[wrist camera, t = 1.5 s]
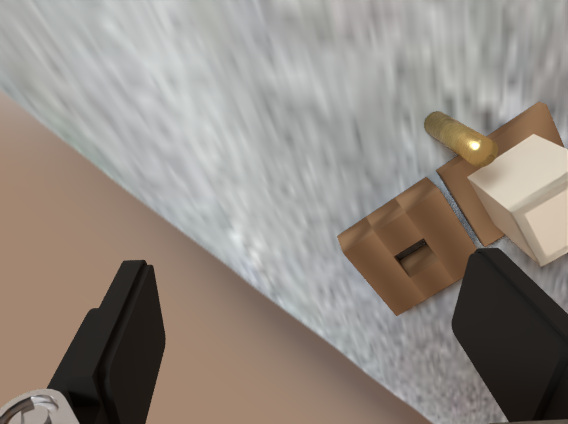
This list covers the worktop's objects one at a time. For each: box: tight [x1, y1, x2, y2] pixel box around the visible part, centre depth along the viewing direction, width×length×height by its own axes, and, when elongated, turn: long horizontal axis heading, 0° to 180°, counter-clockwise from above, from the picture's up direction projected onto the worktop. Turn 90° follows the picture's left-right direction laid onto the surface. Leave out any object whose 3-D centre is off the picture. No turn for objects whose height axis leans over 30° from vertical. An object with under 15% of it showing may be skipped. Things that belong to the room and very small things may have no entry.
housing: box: [467, 134, 568, 267], centre depth 33 cm, size 6×6×7 cm
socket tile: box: [337, 177, 477, 316], centre depth 38 cm, size 10×10×3 cm
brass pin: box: [424, 111, 498, 167], centre depth 30 cm, size 2×2×8 cm
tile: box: [436, 102, 564, 246], centre depth 34 cm, size 10×10×6 cm
